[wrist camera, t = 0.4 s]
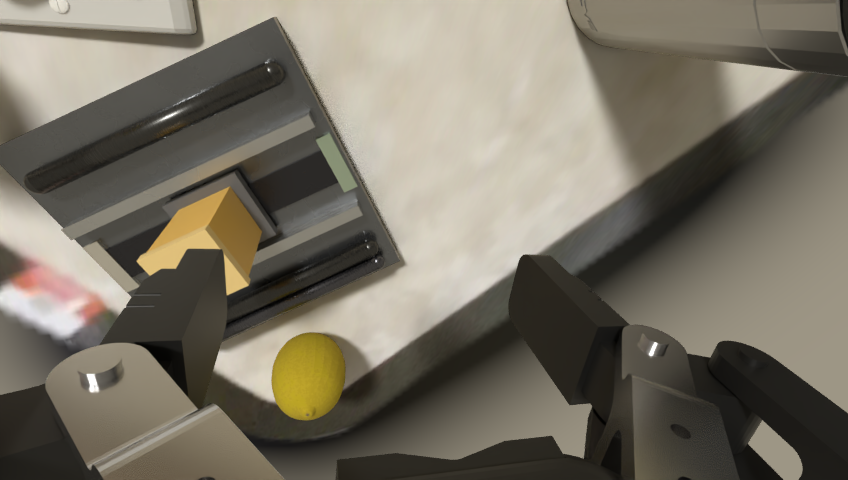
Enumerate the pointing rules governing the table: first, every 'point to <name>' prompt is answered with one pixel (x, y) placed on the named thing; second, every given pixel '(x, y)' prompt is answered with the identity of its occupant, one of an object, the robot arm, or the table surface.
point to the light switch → (103, 15)
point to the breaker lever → (213, 228)
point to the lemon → (308, 376)
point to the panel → (211, 172)
